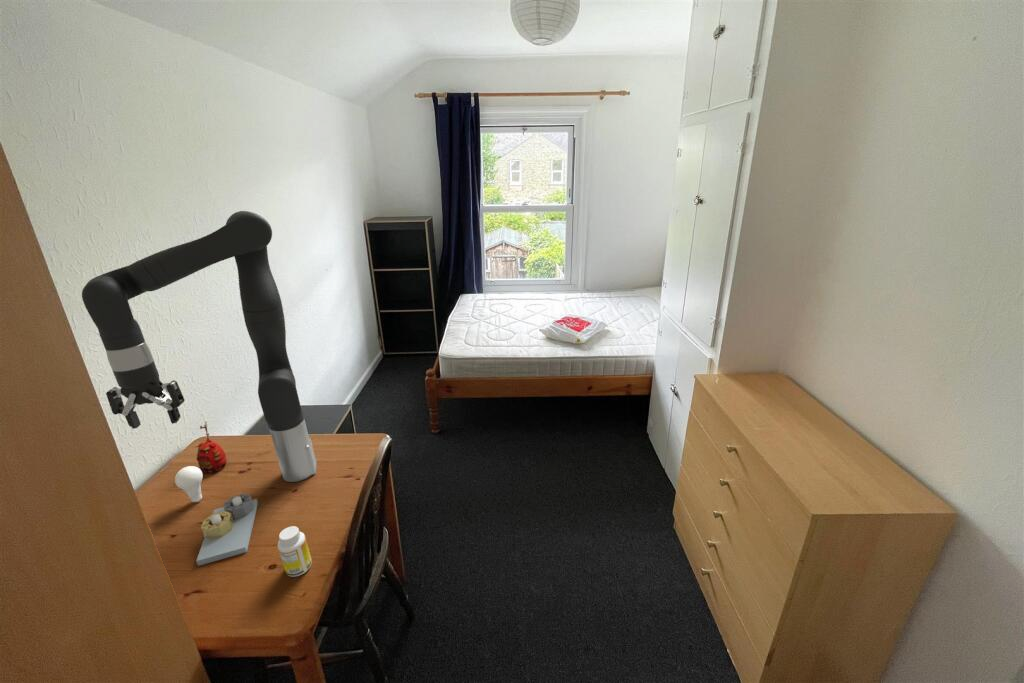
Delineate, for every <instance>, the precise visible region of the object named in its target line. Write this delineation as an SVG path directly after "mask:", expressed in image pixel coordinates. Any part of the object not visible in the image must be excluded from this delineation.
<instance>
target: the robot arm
mask: <svg viewBox="0 0 1024 683" xmlns="http://www.w3.org/2000/svg"><path fill="white" fill-rule="evenodd" d="M272 238H273V229H272V226H271V224H270V223H269V221H268V220H267V219H266V218H265V217H263V216H261V215H260V214H257V213H255V212H252V211H248V210H239V211H236V212H234V213H232V214H231V215H230V216H229V217H228V218H227V220H226V223H225V225H223V226H221V227H220V228H218V229H216V230H215V231H213V232H211V233H209V234H206V235H205V236H203V237H199V238H197V239H194V240H191V241H188V242H185V243H182V244H178V245H174V246H172V247H168V248H165V249H163V250H160V251H158V252H156V253H153V254H150V255H148V256H145V257H143V258H141V259H139V260H137V261H135V262H133V263H131V264H129V265H126V266H123V267H119V268H117V269H114V270H111V271H107V272H104V273H103V274H100V275H97V276H95V277H93V278H91V279H90V280H88V281H87V283H86V284H85V285H84V287H83V288H82V291H81V298H82V302H83V305H84V307H85V310H86V311H87V313H88V315H89V316H90V319H91V320H92V321H93V323H94V325H95V327H96V328H97V330H98V334H99V337H100V339H101V342H102V344H103V346H104V349H105V352H106V357H107V358H106V359H107V360H108V363H109V366H110V367H111V370H112V373H113V375H114V378H115V381H116V383H117V385H118V387H120V388H118V387H117V386H114V387H112V388H111V389H109V390H108V391H106V392H105V394H106V398H107V401H108V404H109V407H110V409H111V412H112V414H113V415H122V416H124V418H125V419H126V422H127V424H128V426H129V427H131V429H138V428H139V427H140V426H141V421H140V418H139V415H138V414H137V411H136V410H135V408H136V407H137V405H138V406H140V405H141V406H142V405H144V404H147V405H148V404H149V405H150V404H151V405H152V404H156V405H157V406H159V407H163V408H165V409H166V411H167V415H168V417H169V419H170V423H171V424H177V422H179V420H180V418H181V413H180V411H179V408H178V407H180V406H181V405H182V404H183V403H184V402H185V401H186V400H185V398H184V395H183V392H182V391H181V388H180V386H179V384H178V381H177V380H171V381H169V382H166V383H163V382H162V381H161V380H160V374H159V371H158V368H157V365H156V363H155V361H154V360H155V359H154V358H153V354H152V352H151V350H150V347H149V345H148V344H147V342H146V339H145V337H144V334H143V332H142V328H141V327H140V324H139V322H138V321H137V320H136V319H135V318H134V315H133V312H132V309H131V306H130V303H129V300H131V299H133V298H135V297H137V296H140V295H142V294H145V293H148V292H154V291H158V290H159V289H162V288H165V287H167V286H169V285H171V284H173V283H176V282H178V281H180V280H182V279H184V278H186V277H188V276H191V275H192V274H194V273H197V272H199V271H200V270H203V269H205V268H208V267H209V266H213V265H215V264H217V263H220V262H222V261H226V260H228V259H231V258H234V259H235V260H234V261H235V265H236V268H237V274H238V275H237V276H238V286H239V289H238V290H239V297H240V302H241V310H242V314H243V319H244V324H245V327H246V330H247V332H248V335H249V338H250V340H251V343H252V345H253V347H254V350H255V352H256V358H257V365H258V385H257V386H258V387H257V395H258V400H259V403H260V407H261V410H262V413H263V416H264V420H265V422H266V424H267V425H268V428H269V433H270V436H271V440H272V443H273V447H274V450H275V453H276V458H277V462H278V465H279V468H280V471H281V475H282V478H283V480H284V481H285V482H289V483H295V482H300V481H303V480H306V479H308V478H310V477H311V476H313V475H316V474H317V460H316V455H315V451H314V446H313V443H312V438H311V436H309V433H308V429H307V424H306V421H305V416H304V412H303V409H302V405H301V402H300V398H299V394H298V391H297V384H296V378H295V375H294V372H293V369H292V367H291V363H290V361H289V360H290V359H289V357H288V356H289V355H288V353H287V345H286V344H287V343H286V341H287V339H286V334H287V333H286V332H287V331H286V321H285V320H286V319H285V315H284V313H285V312H284V308H283V302H282V298H281V296H280V292H279V290H278V287H277V286H278V285H277V282H276V281H275V279H274V275H273V273H272V270H271V266H270V264H269V255H268V254H269V253H268V245H269V244H270V243H271V241H272ZM122 396H123V397H124V398H126V400H127V401H126V402H125V404H124V402H123V398H122Z"/></svg>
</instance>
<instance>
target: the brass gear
mask: <svg viewBox="0 0 1024 683" xmlns="http://www.w3.org/2000/svg"><path fill="white" fill-rule="evenodd" d="M216 514H219V515H220V517H221V520H222V521H221V522H220V523H218V524H215V525H212V522H211V519H210V518H211V517H212V516H213V515H216ZM233 526H234V520H233V517H232V514H231V513H229V512H227V511H222V512H218V513H214V514H213V513H212V514H211V515H209V516H207V517H206V518H205V519H203V521H202V524H201V526H200V528H201V531H202V533H203V536H204V537H206V538H208V539H210V540H212V539H216V538H220V537H223V536H224V535H226V534H227V533H228V532H230V531H231V530H232V529H233Z"/></svg>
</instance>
